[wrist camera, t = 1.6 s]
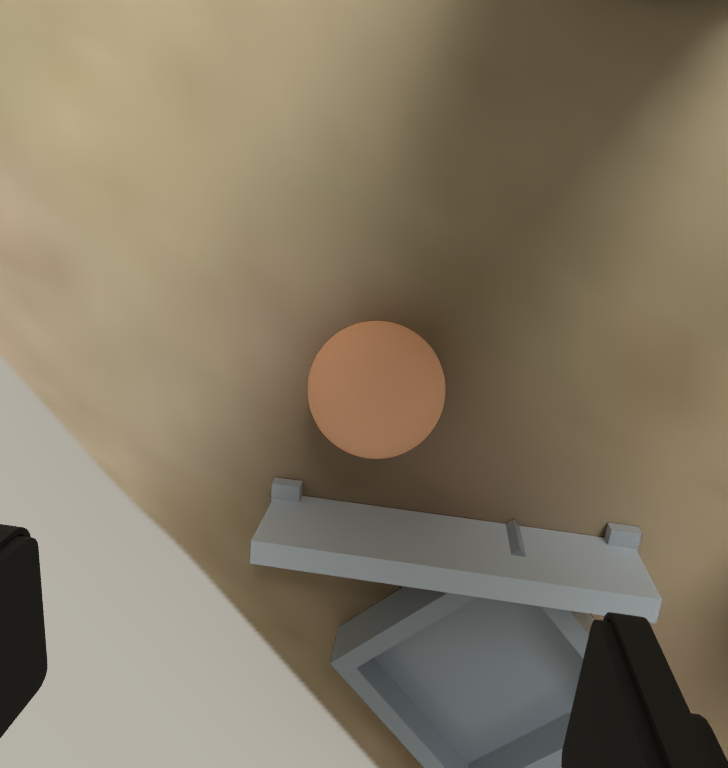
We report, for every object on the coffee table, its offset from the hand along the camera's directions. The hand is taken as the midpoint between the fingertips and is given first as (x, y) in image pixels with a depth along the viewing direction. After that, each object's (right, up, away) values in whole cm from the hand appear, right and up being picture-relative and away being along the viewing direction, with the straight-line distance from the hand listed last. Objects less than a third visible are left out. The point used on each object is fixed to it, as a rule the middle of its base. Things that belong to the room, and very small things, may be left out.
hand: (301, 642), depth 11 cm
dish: (+7, -8, +19) cm, 21 cm away
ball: (+2, +4, +13) cm, 14 cm away
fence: (+5, -2, +17) cm, 18 cm away
